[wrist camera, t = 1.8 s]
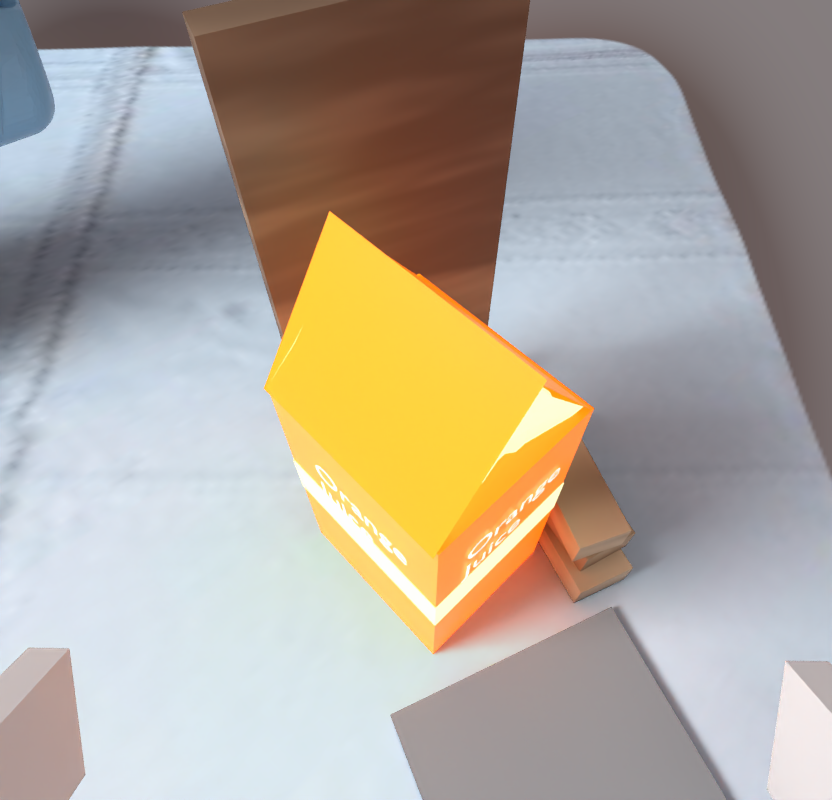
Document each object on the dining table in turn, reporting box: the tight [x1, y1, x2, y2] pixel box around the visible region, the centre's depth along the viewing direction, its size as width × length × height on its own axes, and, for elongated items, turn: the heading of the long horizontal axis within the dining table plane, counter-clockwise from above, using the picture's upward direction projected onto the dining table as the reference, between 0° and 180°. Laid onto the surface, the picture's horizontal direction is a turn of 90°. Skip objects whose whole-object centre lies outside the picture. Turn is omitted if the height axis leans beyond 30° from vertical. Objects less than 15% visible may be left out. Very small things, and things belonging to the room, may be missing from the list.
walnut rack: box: [182, 0, 635, 603], centre depth 27 cm, size 18×12×24 cm, turn 24°
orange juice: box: [264, 211, 594, 654], centre depth 26 cm, size 8×9×20 cm
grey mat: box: [390, 607, 727, 800], centre depth 28 cm, size 12×12×1 cm
